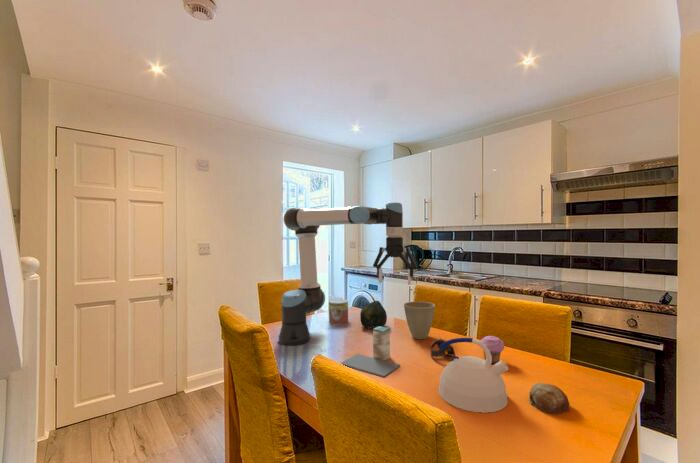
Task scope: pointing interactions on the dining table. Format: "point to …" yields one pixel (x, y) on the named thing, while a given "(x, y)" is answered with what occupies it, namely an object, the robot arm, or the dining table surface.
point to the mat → (371, 365)
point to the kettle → (473, 381)
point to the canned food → (338, 311)
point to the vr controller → (441, 351)
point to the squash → (373, 315)
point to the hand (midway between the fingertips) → (394, 283)
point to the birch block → (381, 343)
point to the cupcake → (493, 347)
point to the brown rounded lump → (549, 398)
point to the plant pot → (419, 318)
